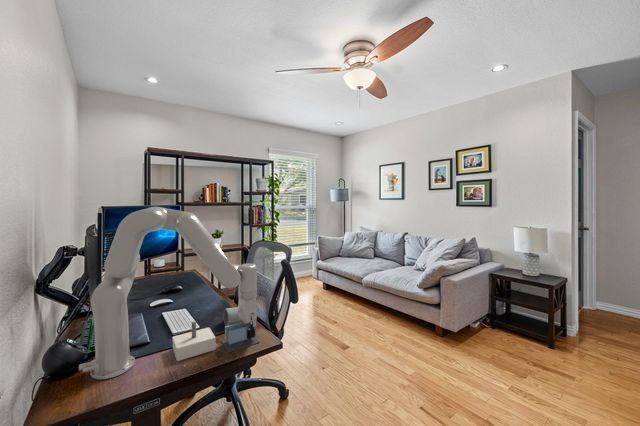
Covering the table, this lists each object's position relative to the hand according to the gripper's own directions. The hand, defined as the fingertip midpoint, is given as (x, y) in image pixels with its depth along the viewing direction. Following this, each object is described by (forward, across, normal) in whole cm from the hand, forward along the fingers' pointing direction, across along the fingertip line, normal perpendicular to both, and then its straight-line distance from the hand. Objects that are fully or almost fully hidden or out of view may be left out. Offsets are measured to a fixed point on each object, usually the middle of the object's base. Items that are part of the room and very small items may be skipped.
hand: (247, 333), depth 119 cm
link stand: (+2, -5, -20) cm, 21 cm away
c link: (0, 0, -3) cm, 3 cm away
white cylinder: (+3, -20, 0) cm, 20 cm away
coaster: (+3, 0, -3) cm, 4 cm away
